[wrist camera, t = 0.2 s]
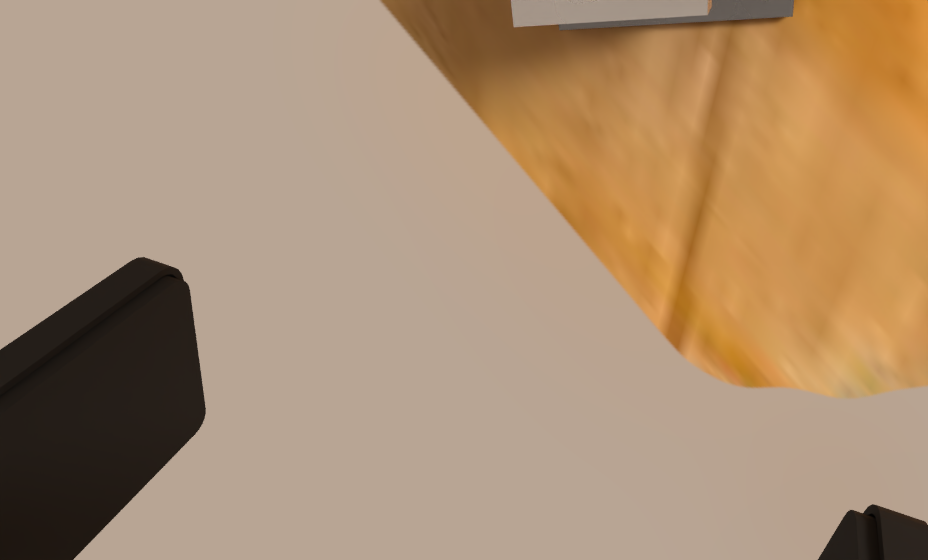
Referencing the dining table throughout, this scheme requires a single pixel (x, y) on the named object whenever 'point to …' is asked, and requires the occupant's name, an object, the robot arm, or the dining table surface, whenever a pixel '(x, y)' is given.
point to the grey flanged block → (601, 10)
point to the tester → (726, 5)
